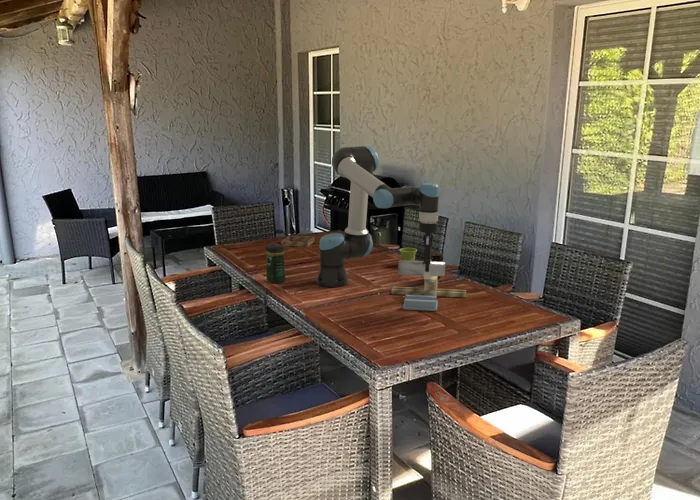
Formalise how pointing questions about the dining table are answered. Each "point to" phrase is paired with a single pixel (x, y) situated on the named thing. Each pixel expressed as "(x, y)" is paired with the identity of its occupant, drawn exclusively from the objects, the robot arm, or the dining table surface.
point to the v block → (420, 302)
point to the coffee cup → (437, 260)
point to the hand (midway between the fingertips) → (427, 276)
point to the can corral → (298, 238)
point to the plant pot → (408, 254)
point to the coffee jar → (275, 263)
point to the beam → (429, 290)
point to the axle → (420, 268)
